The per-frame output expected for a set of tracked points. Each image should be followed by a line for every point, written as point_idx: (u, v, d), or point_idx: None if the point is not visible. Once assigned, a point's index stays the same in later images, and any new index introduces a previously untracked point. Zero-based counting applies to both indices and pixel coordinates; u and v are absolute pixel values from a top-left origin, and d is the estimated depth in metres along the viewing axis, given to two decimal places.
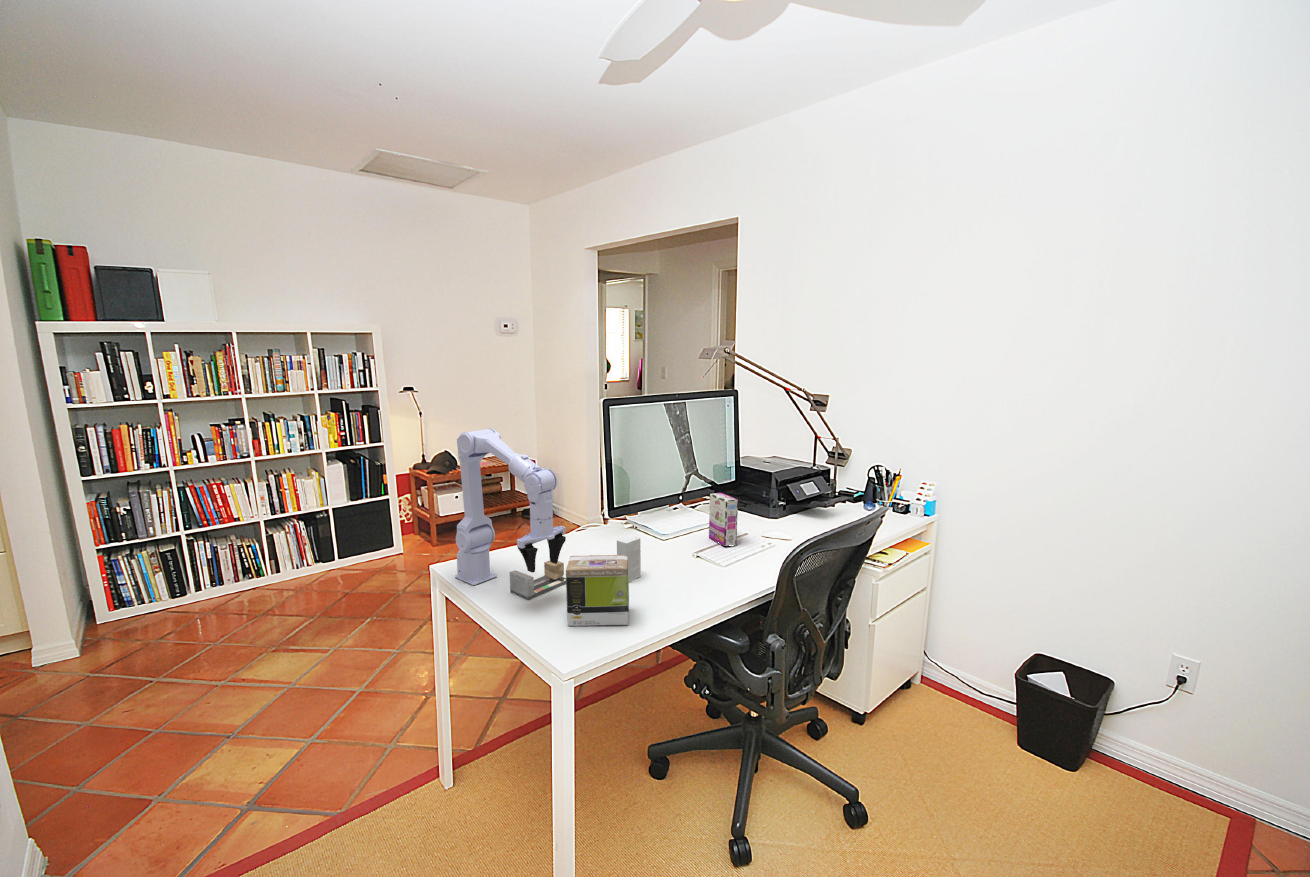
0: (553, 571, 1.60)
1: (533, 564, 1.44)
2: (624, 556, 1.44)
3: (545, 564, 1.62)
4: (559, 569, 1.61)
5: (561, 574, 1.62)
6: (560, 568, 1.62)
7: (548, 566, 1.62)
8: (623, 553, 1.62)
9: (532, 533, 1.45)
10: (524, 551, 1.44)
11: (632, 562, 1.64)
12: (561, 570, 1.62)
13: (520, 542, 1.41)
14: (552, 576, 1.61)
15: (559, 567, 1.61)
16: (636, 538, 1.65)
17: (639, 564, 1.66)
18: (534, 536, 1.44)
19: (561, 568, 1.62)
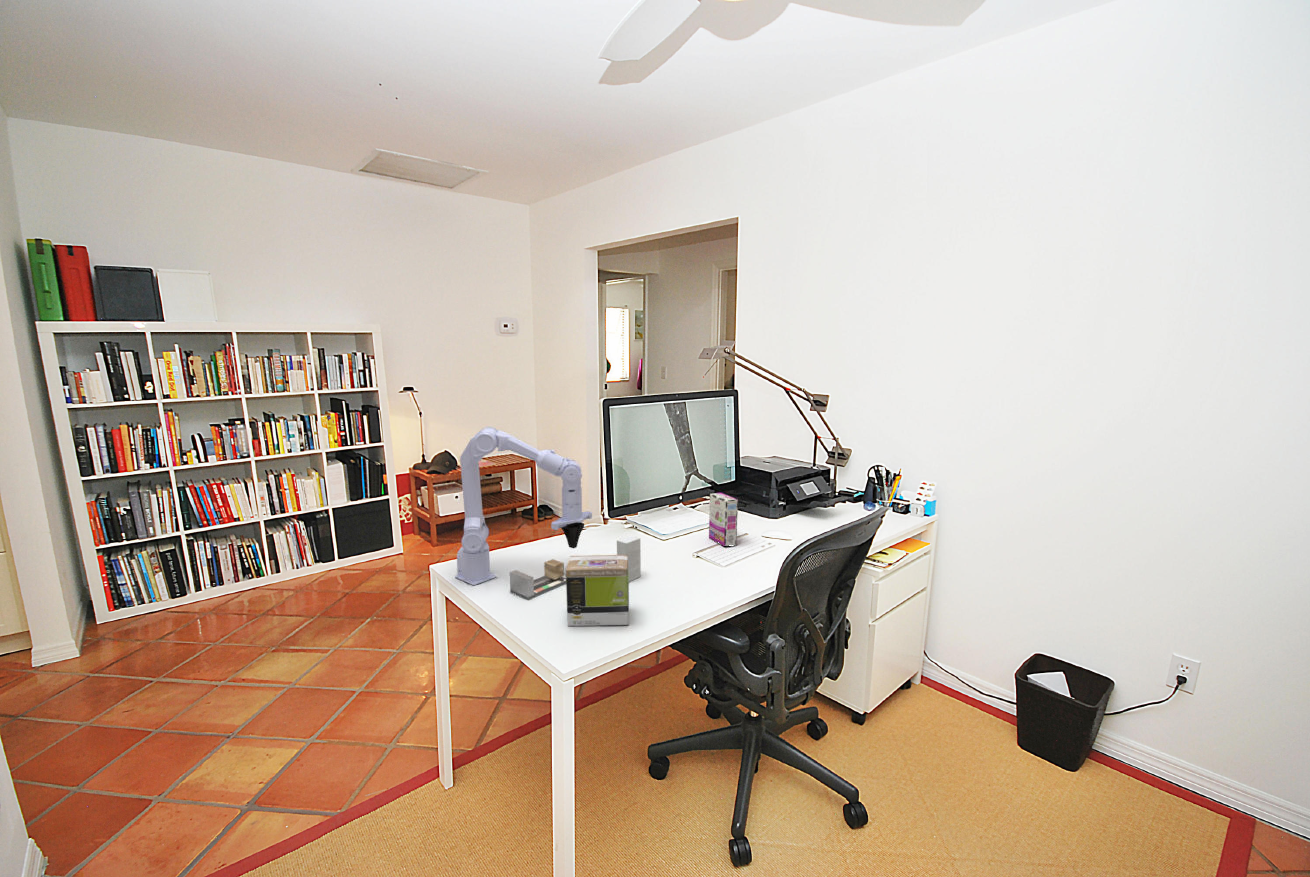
0: (553, 571, 1.60)
1: (574, 541, 1.66)
2: (624, 556, 1.44)
3: (545, 564, 1.62)
4: (559, 569, 1.61)
5: (561, 574, 1.62)
6: (560, 568, 1.62)
7: (548, 566, 1.62)
8: (623, 553, 1.62)
9: (564, 517, 1.64)
10: (566, 530, 1.67)
11: (632, 562, 1.64)
12: (561, 570, 1.62)
13: (554, 524, 1.61)
14: (552, 576, 1.61)
15: (559, 567, 1.61)
16: (636, 538, 1.65)
17: (639, 564, 1.66)
18: (566, 519, 1.64)
19: (561, 568, 1.62)
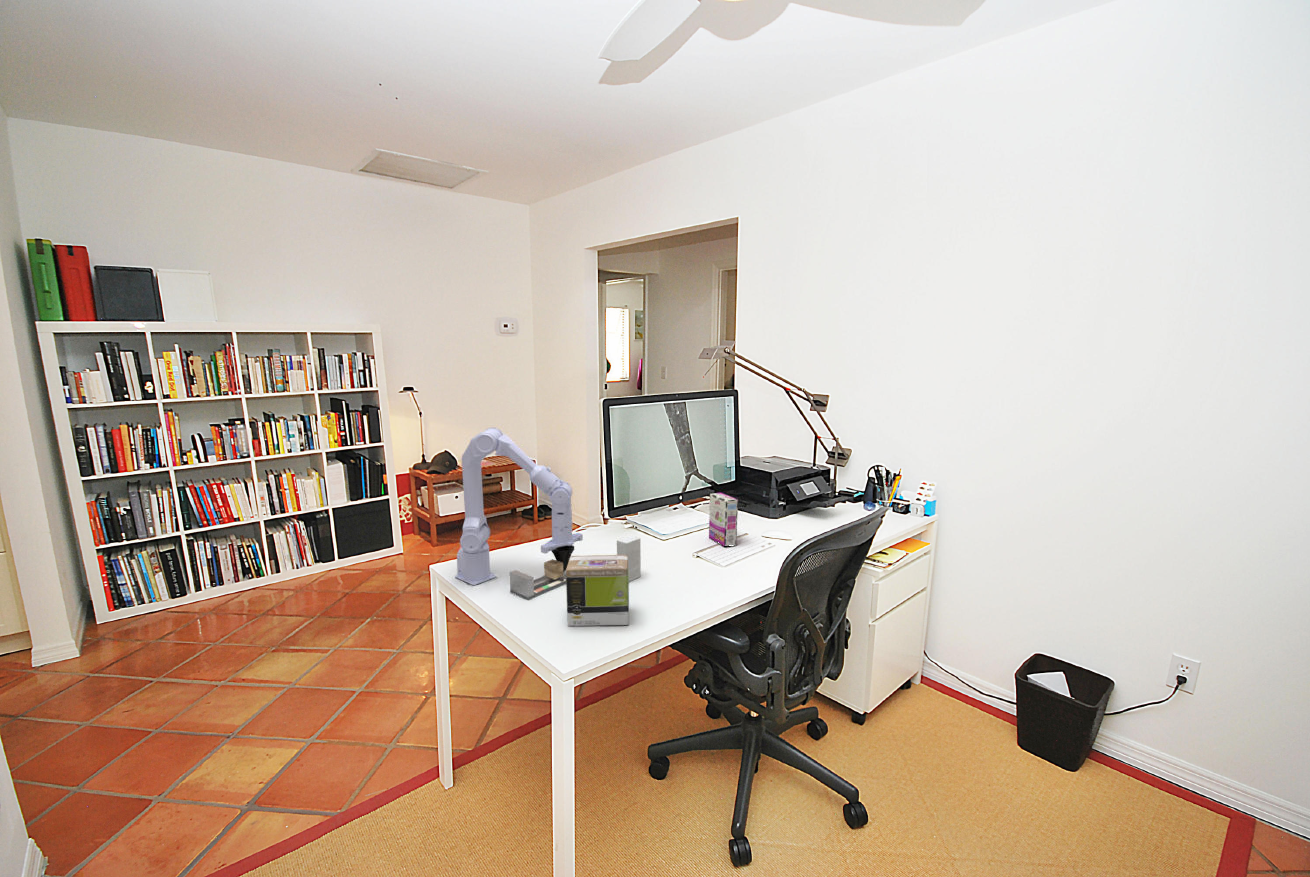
0: (553, 571, 1.60)
1: (564, 564, 1.64)
2: (624, 556, 1.44)
3: (545, 564, 1.62)
4: (559, 569, 1.61)
5: (561, 574, 1.62)
6: (560, 568, 1.62)
7: (548, 566, 1.62)
8: (623, 553, 1.62)
9: (554, 540, 1.62)
10: (556, 552, 1.65)
11: (632, 562, 1.64)
12: (561, 570, 1.62)
13: (544, 548, 1.58)
14: (552, 576, 1.61)
15: (559, 567, 1.61)
16: (636, 538, 1.65)
17: (639, 564, 1.66)
18: (556, 542, 1.62)
19: (561, 568, 1.62)
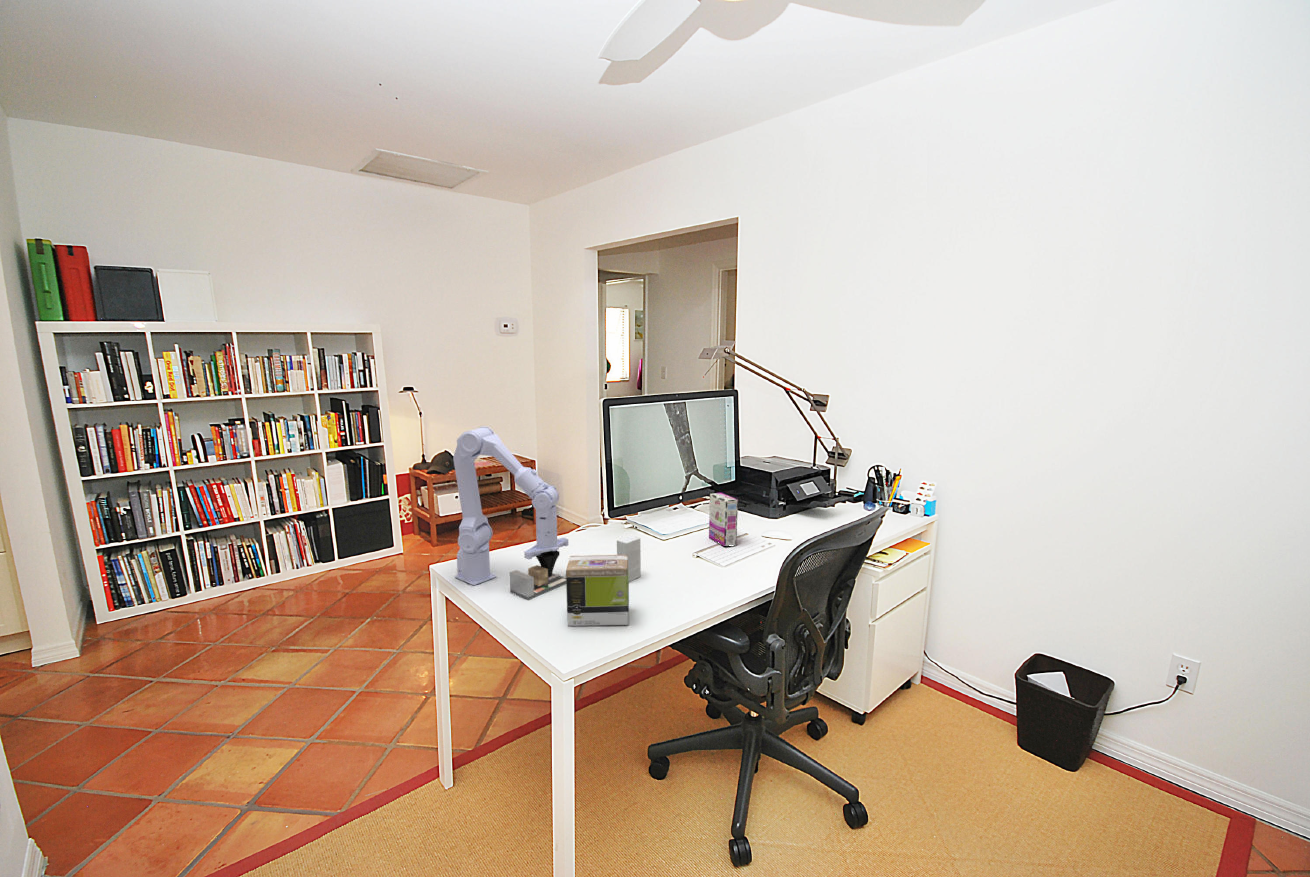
0: (537, 577, 1.56)
1: (549, 570, 1.59)
2: (624, 556, 1.44)
3: (529, 570, 1.58)
4: (543, 575, 1.57)
5: (545, 580, 1.58)
6: (544, 574, 1.57)
7: (532, 573, 1.57)
8: (623, 553, 1.62)
9: (538, 545, 1.58)
10: (541, 558, 1.60)
11: (632, 562, 1.64)
12: (545, 576, 1.58)
13: (527, 554, 1.54)
14: (536, 583, 1.56)
15: (543, 573, 1.57)
16: (636, 538, 1.65)
17: (639, 564, 1.66)
18: (540, 548, 1.57)
19: (545, 574, 1.58)
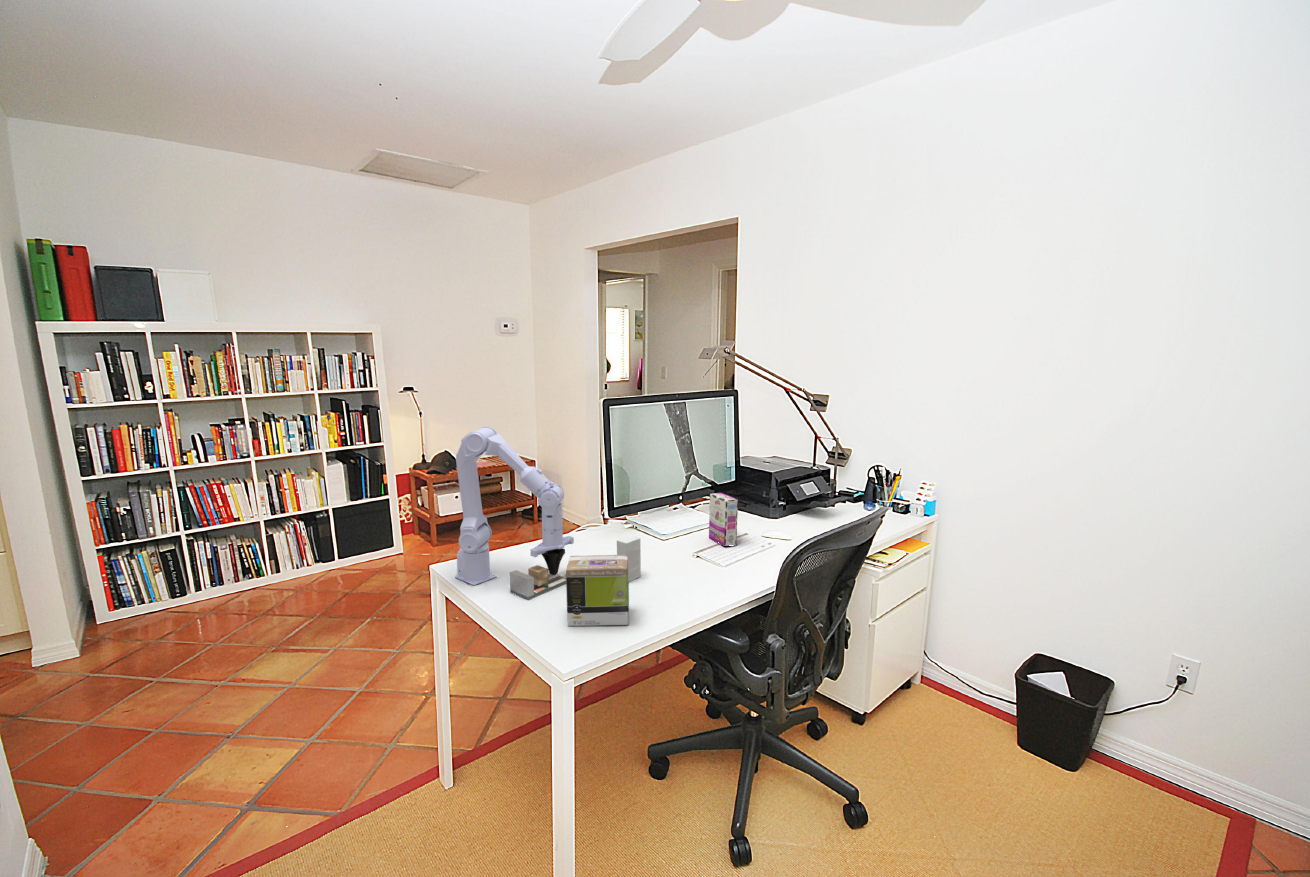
0: (537, 577, 1.56)
1: (554, 567, 1.61)
2: (624, 556, 1.44)
3: (529, 570, 1.58)
4: (543, 575, 1.57)
5: (545, 580, 1.58)
6: (544, 574, 1.57)
7: (532, 573, 1.57)
8: (623, 553, 1.62)
9: (544, 543, 1.59)
10: (546, 556, 1.62)
11: (632, 562, 1.64)
12: (545, 576, 1.58)
13: (533, 551, 1.55)
14: (536, 583, 1.56)
15: (543, 573, 1.57)
16: (636, 538, 1.65)
17: (639, 564, 1.66)
18: (546, 546, 1.59)
19: (545, 574, 1.58)
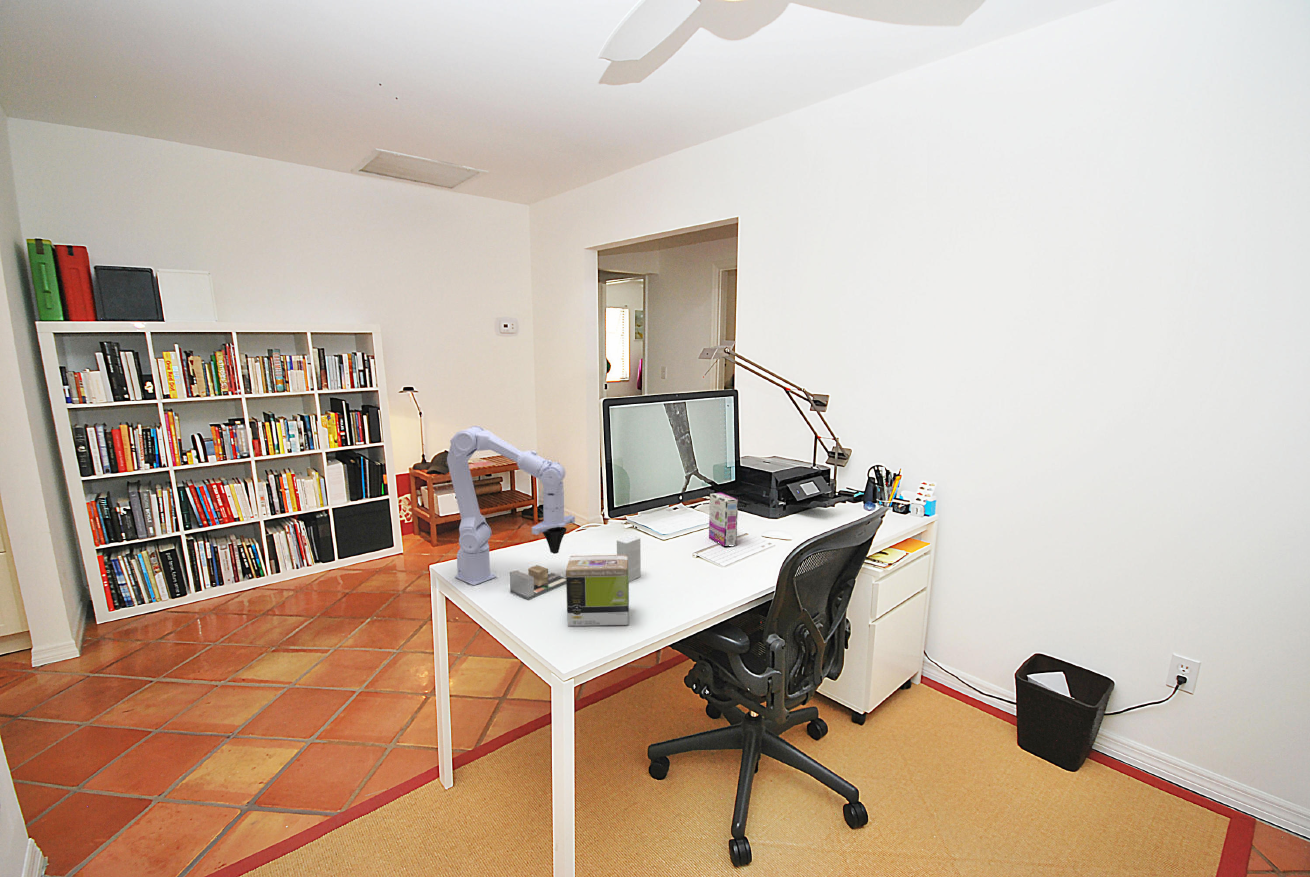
0: (537, 577, 1.56)
1: (556, 546, 1.60)
2: (624, 556, 1.44)
3: (529, 570, 1.58)
4: (543, 575, 1.57)
5: (545, 580, 1.58)
6: (544, 574, 1.57)
7: (532, 573, 1.57)
8: (623, 553, 1.62)
9: (545, 521, 1.59)
10: (547, 534, 1.61)
11: (632, 562, 1.64)
12: (545, 576, 1.58)
13: (535, 529, 1.55)
14: (536, 583, 1.56)
15: (543, 573, 1.57)
16: (636, 538, 1.65)
17: (639, 564, 1.66)
18: (547, 524, 1.58)
19: (545, 574, 1.58)
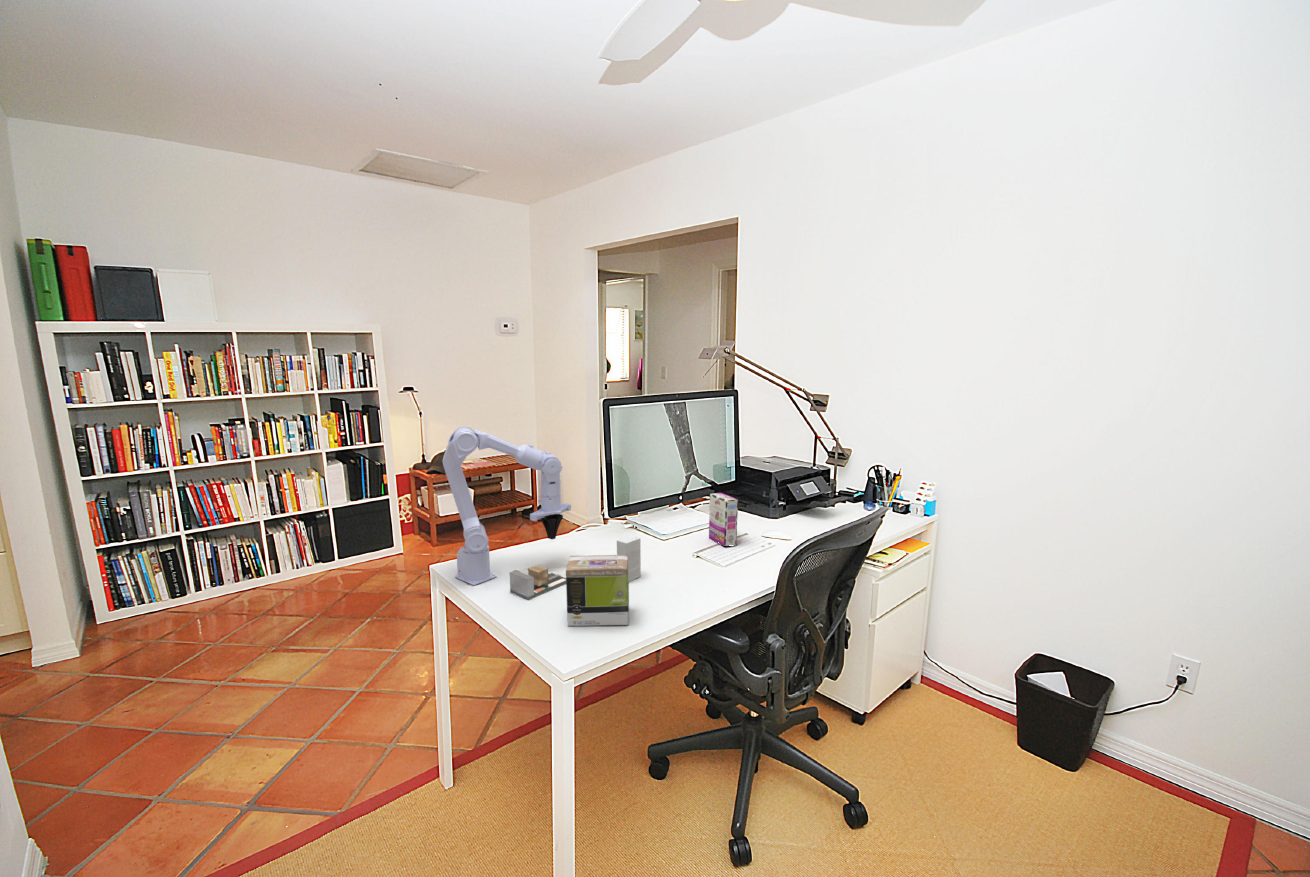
0: (537, 577, 1.56)
1: (553, 532, 1.70)
2: (624, 556, 1.44)
3: (529, 570, 1.58)
4: (543, 575, 1.57)
5: (545, 580, 1.58)
6: (544, 574, 1.57)
7: (532, 573, 1.57)
8: (623, 553, 1.62)
9: (543, 509, 1.68)
10: (545, 521, 1.71)
11: (632, 562, 1.64)
12: (545, 576, 1.58)
13: (533, 516, 1.64)
14: (536, 583, 1.56)
15: (543, 573, 1.57)
16: (636, 538, 1.65)
17: (639, 564, 1.66)
18: (544, 511, 1.68)
19: (545, 574, 1.58)
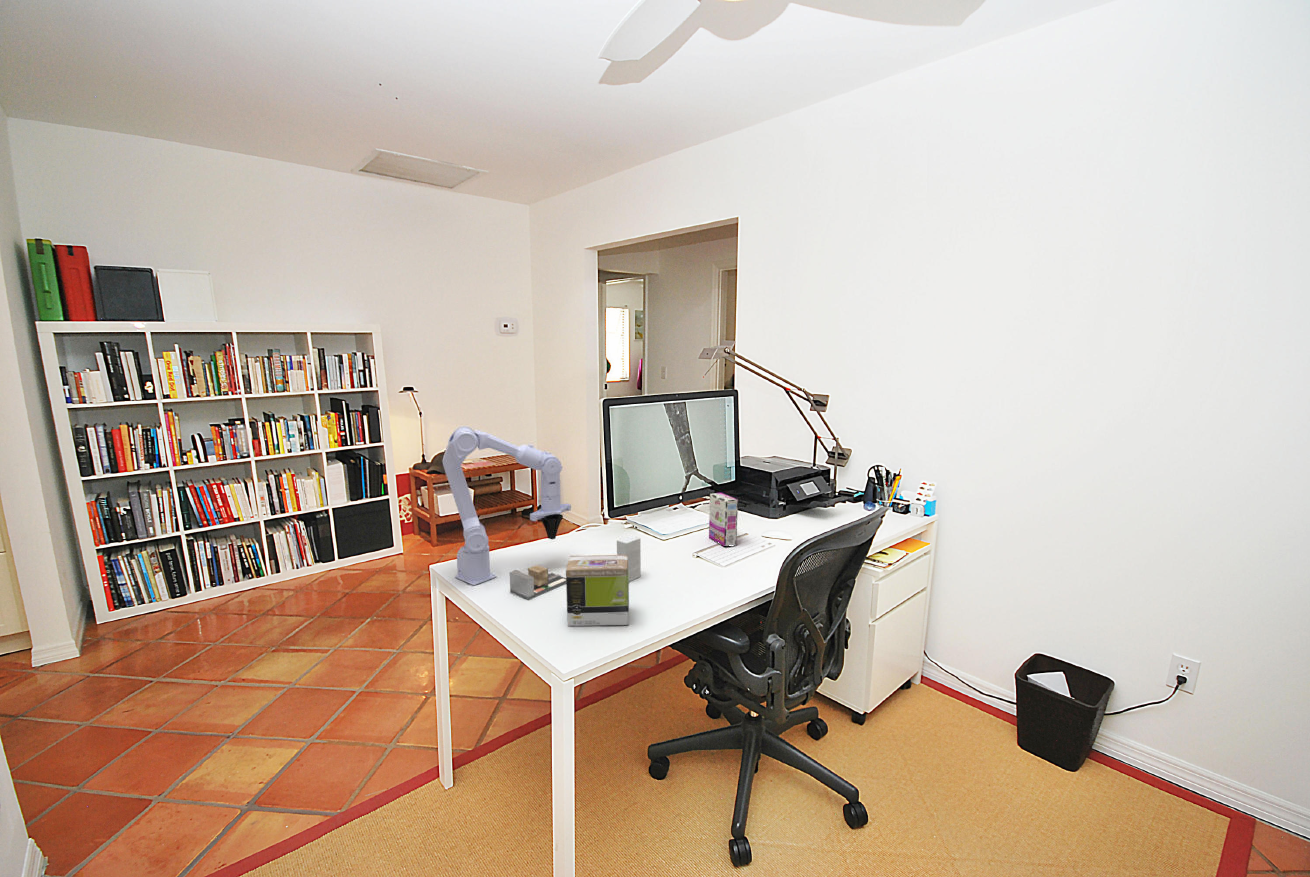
0: (537, 577, 1.56)
1: (553, 532, 1.70)
2: (624, 556, 1.44)
3: (529, 570, 1.58)
4: (543, 575, 1.57)
5: (545, 580, 1.58)
6: (544, 574, 1.57)
7: (532, 573, 1.57)
8: (623, 553, 1.62)
9: (543, 509, 1.68)
10: (545, 521, 1.71)
11: (632, 562, 1.64)
12: (545, 576, 1.58)
13: (533, 516, 1.64)
14: (536, 583, 1.56)
15: (543, 573, 1.57)
16: (636, 538, 1.65)
17: (639, 564, 1.66)
18: (544, 511, 1.68)
19: (545, 574, 1.58)
